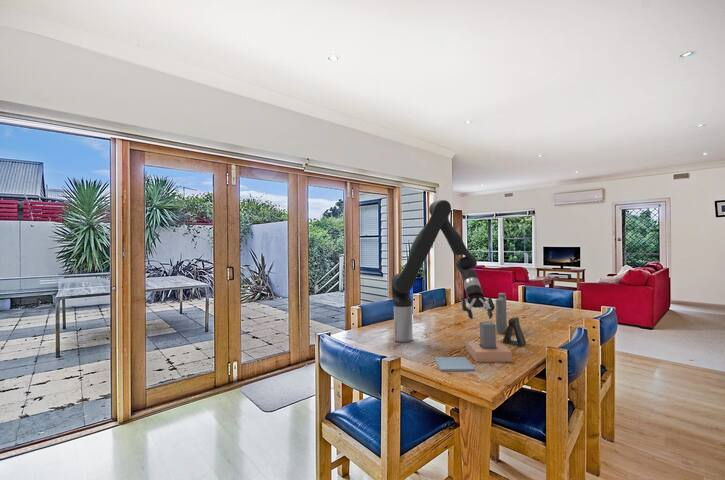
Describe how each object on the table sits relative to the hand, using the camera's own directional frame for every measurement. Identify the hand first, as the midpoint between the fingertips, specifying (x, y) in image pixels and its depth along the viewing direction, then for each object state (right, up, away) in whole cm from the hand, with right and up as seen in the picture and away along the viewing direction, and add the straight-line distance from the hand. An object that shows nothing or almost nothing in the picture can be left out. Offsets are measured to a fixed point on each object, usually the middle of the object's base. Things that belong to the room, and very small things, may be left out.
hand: (481, 317), depth 156 cm
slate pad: (-17, -15, -18) cm, 29 cm away
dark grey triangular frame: (+18, -14, +8) cm, 24 cm away
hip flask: (+22, -14, +31) cm, 40 cm away
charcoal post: (0, -14, -9) cm, 17 cm away
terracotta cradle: (0, -14, -9) cm, 17 cm away
